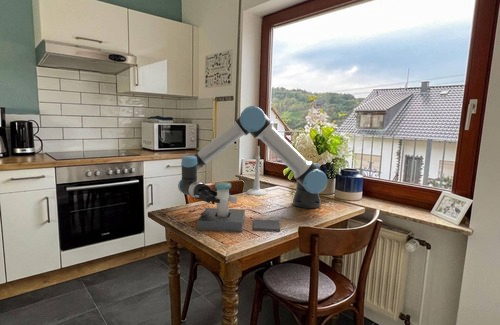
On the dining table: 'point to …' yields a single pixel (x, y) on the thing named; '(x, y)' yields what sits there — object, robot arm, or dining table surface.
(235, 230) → the block
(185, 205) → the dining table surface
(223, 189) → the teal capped tube
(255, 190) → the candlestick
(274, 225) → the pad
